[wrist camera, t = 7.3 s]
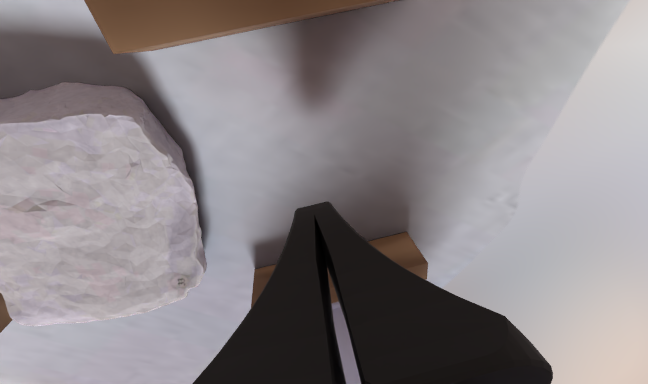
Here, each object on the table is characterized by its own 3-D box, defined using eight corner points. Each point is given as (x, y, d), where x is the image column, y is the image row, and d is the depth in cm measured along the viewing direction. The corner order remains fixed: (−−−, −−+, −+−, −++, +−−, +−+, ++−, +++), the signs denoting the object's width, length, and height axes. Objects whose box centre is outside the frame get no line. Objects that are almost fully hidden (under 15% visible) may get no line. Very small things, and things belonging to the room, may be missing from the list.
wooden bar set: (406, 247, 19) (426, 278, 16) (53, 335, 18) (16, 384, 15) (405, -338, 7) (477, -547, 5) (-655, -187, 6) (-1353, -357, 3)
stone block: (161, 66, 13) (-117, 100, 10) (140, 80, 9) (-316, 141, 6) (229, 240, 19) (71, 288, 17) (234, 292, 15) (30, 364, 13)
